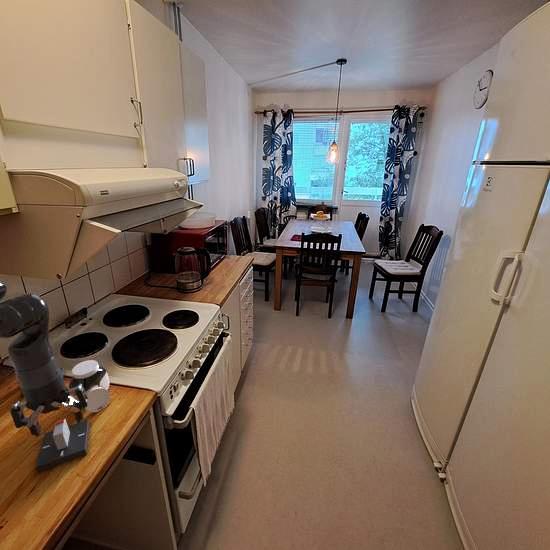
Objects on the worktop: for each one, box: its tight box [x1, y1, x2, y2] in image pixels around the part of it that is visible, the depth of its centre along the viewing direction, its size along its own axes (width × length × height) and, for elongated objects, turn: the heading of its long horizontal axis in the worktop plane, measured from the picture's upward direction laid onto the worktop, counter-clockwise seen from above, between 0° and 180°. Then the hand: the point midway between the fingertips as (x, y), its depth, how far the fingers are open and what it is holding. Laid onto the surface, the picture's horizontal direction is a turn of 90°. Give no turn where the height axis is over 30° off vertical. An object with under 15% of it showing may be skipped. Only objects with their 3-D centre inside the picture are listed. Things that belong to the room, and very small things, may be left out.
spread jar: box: [68, 359, 111, 413], centre depth 88 cm, size 12×11×12 cm
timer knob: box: [53, 418, 70, 450], centre depth 73 cm, size 5×2×5 cm, turn 27°
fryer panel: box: [35, 419, 91, 473], centre depth 75 cm, size 10×10×3 cm
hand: (59, 426), depth 72 cm, fingers open, 8 cm apart
